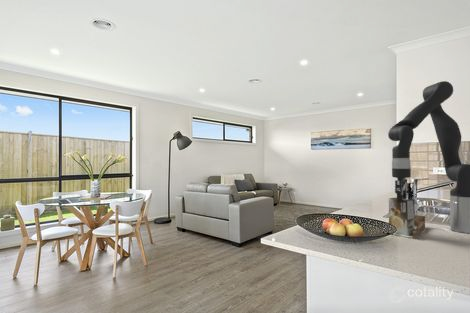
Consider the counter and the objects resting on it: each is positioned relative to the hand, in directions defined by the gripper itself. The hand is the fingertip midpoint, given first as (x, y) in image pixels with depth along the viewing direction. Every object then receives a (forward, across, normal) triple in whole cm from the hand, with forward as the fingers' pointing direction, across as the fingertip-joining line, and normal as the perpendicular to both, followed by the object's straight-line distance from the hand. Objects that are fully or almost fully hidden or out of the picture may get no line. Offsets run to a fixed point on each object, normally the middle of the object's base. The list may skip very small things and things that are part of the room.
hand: (401, 201), depth 122 cm
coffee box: (+15, 0, 0) cm, 15 cm away
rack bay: (+15, +7, 0) cm, 17 cm away
